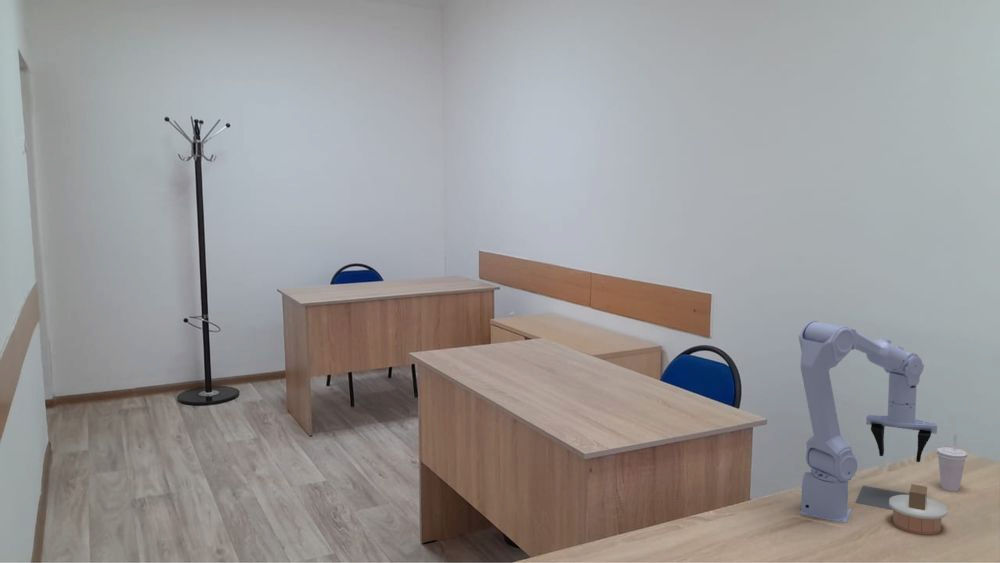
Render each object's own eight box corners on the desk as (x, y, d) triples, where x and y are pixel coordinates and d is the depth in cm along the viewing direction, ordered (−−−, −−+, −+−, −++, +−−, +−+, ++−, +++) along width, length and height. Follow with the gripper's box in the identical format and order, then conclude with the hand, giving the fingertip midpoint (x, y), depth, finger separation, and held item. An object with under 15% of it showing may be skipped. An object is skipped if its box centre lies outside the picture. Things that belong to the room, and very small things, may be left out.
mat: (855, 504, 170) (855, 502, 170) (862, 487, 180) (863, 485, 180) (913, 515, 164) (914, 513, 163) (918, 497, 173) (918, 495, 173)
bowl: (890, 529, 157) (891, 511, 156) (895, 514, 164) (896, 497, 164) (939, 539, 152) (940, 521, 151) (942, 523, 159) (942, 505, 159)
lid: (885, 511, 156) (886, 492, 156) (891, 494, 166) (892, 476, 165) (945, 523, 150) (946, 503, 150) (948, 504, 159) (949, 485, 159)
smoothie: (964, 497, 173) (967, 439, 171) (933, 491, 177) (935, 435, 175) (966, 488, 178) (969, 432, 177) (936, 482, 182) (938, 428, 180)
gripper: (938, 401, 170) (936, 458, 171) (869, 394, 178) (868, 447, 179) (936, 409, 164) (934, 467, 166) (865, 400, 172) (863, 456, 174)
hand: (899, 457), depth 172 cm, fingers open, 7 cm apart
